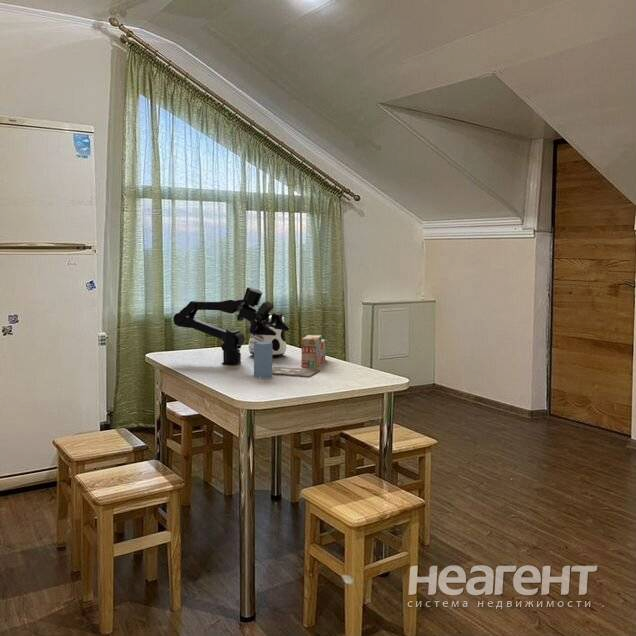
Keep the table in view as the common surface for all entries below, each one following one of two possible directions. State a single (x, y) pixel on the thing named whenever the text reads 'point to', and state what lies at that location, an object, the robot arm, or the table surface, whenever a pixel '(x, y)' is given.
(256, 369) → the blue pillar
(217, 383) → the table surface
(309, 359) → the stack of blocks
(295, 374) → the letter board
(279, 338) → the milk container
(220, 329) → the robot arm
